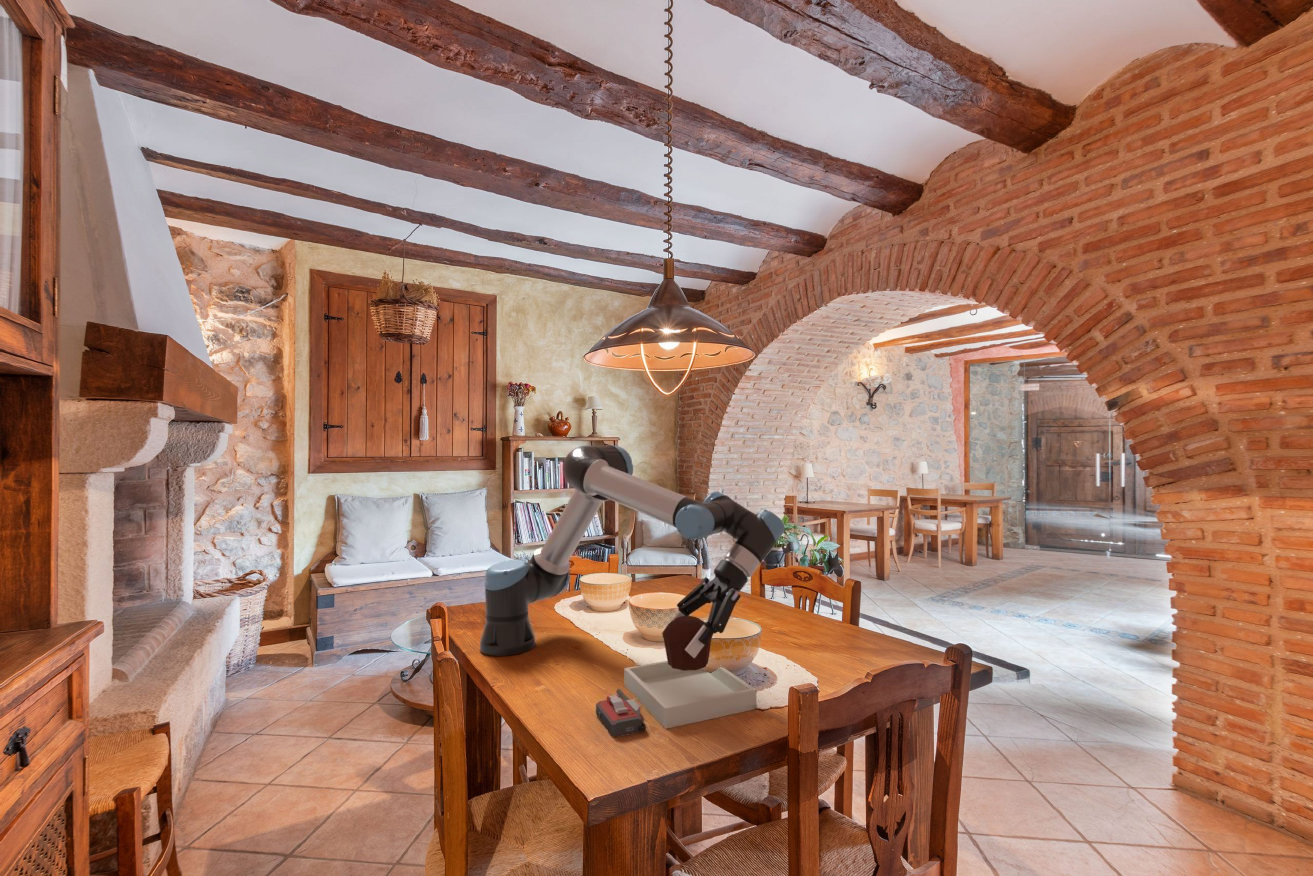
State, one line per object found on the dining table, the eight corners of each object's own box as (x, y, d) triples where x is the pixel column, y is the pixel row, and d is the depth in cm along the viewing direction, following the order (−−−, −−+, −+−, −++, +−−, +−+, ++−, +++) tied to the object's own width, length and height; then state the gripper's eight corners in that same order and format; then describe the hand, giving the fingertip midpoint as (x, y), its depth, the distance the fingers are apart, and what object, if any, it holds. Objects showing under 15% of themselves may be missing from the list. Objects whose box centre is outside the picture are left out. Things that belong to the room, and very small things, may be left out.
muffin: (716, 672, 129) (715, 625, 129) (664, 674, 129) (663, 626, 129) (710, 653, 141) (708, 610, 141) (662, 655, 140) (661, 611, 141)
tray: (624, 685, 142) (624, 668, 142) (704, 670, 150) (704, 654, 150) (665, 728, 120) (665, 708, 120) (756, 708, 128) (756, 689, 128)
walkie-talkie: (656, 733, 119) (622, 695, 137) (655, 711, 119) (622, 676, 137) (613, 742, 115) (584, 702, 134) (613, 719, 115) (584, 682, 134)
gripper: (775, 589, 130) (713, 673, 124) (721, 569, 152) (666, 640, 146) (753, 567, 128) (689, 651, 122) (701, 550, 150) (645, 621, 144)
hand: (677, 645), depth 134 cm, fingers closed on muffin, 12 cm apart
